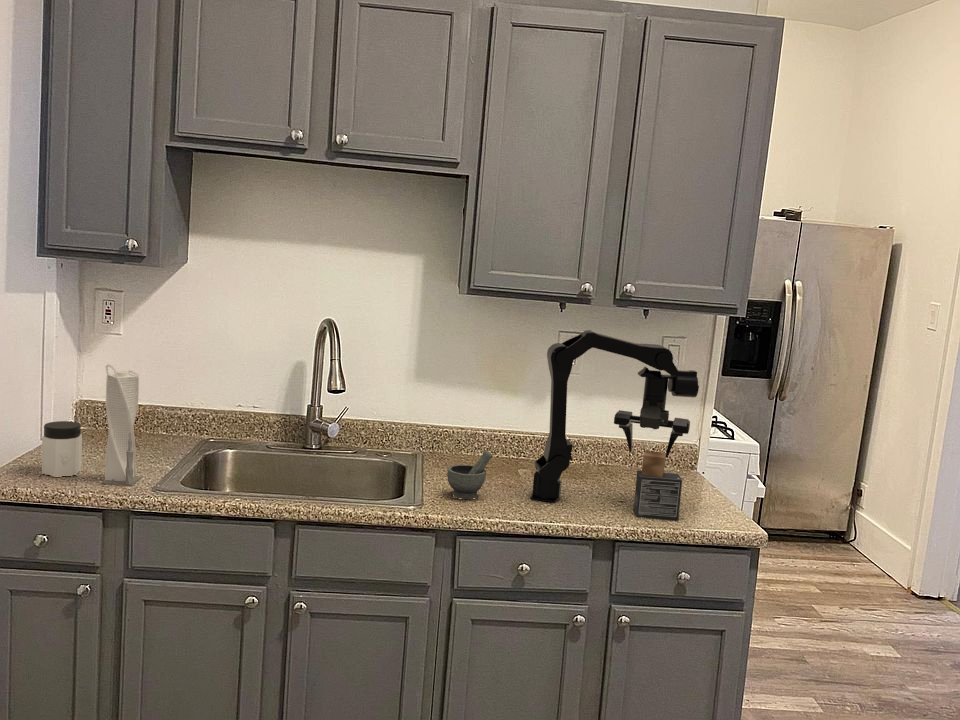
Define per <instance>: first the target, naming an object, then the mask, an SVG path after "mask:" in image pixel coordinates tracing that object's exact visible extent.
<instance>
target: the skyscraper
mask: <svg viewBox="0 0 960 720" xmlns="http://www.w3.org/2000/svg"><path fill="white" fill-rule="evenodd" d="M109 368H111V369H112V370H113V372H114V373H113V374H109V373H110V372H109ZM105 371H106V383H105V386H106V387H105V408H106V410H105V411H106V419H107V425H108V432H107V442H106V453H105V468H104V469H105V471H104V480H103V481H102V482H101V485H107V484H114V485H113V486H120V485H122V486H123V487H124V486H125V487H133V486H134V485H135V484H136V482H140V481H141V480H142V479H143V476H141V475H136V440H135V431H134V425H135V422H136V416H137V413H138V407H139V393H140V388H139V387H140V377H139V374H138V373H137V372H135V371H133V370H128V371H127V370H118V371H116V368H115V367H113V366H112V365H111V364H107V365H106V366H105Z"/></svg>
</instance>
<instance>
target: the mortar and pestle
mask: <svg viewBox="0 0 960 720" xmlns="http://www.w3.org/2000/svg"><path fill="white" fill-rule="evenodd" d="M493 457H494V455H493V454H492V453H491V452H490V451H488V450H486V449H485V450H483V452H482V455H481V456H480V457H479V459H478V460H477V461H476V462H475V464H474V465H472V464H455V465H449V467H448V468H447V471H446V473H447V474H446V475H447V482H448V484H449V486H450V487H451V488H452V490H453V492H452V496H453V495H454V496H455V497H457V498H462V499H473V498H476V497H477V498H478V491H480V490H481V489H482V488H483V487H482V486H483V485H484V483H485V481H486V477H487V470H486V469H485V468H486V466H488V463H489V461H490V460H492V459H493ZM455 497H454V498H455ZM457 498H456V499H457ZM477 498H476V499H477ZM473 500H474V499H473Z"/></svg>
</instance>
